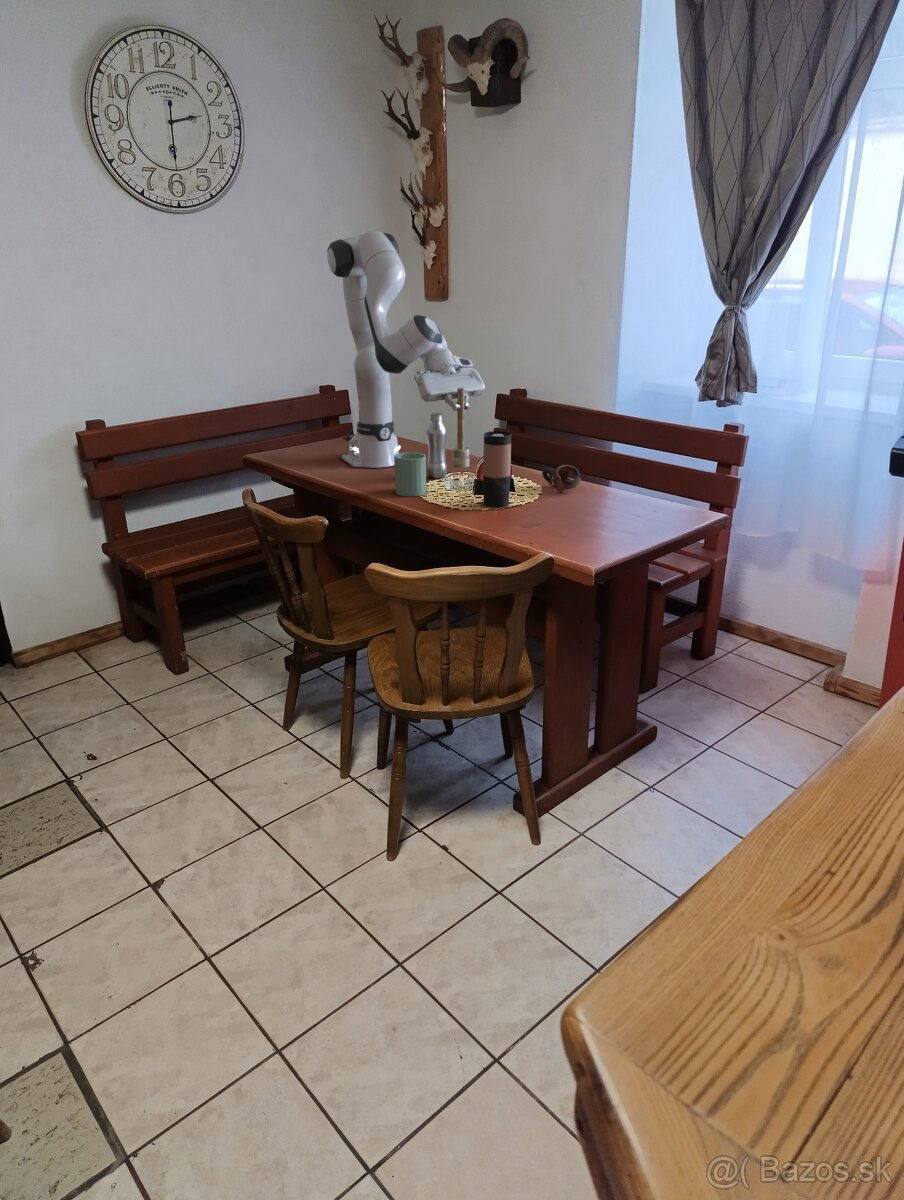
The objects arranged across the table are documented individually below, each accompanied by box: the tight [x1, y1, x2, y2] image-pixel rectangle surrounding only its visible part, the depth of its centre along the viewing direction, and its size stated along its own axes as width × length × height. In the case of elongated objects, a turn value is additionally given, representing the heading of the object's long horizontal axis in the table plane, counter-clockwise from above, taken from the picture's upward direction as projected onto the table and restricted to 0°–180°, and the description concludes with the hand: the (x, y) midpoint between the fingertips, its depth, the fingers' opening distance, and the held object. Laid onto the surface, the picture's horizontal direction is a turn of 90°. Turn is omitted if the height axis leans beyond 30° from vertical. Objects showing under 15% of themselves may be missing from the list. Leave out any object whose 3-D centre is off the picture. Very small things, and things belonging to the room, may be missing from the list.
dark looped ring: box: [541, 464, 582, 494], centre depth 244 cm, size 12×10×8 cm
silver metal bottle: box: [426, 412, 448, 479], centre depth 255 cm, size 6×7×20 cm
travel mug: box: [482, 430, 512, 509], centre depth 226 cm, size 8×8×20 cm
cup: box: [393, 451, 427, 497], centre depth 240 cm, size 9×9×11 cm
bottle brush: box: [451, 388, 471, 469], centre depth 231 cm, size 5×5×22 cm
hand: (462, 409), depth 228 cm, fingers closed on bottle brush
